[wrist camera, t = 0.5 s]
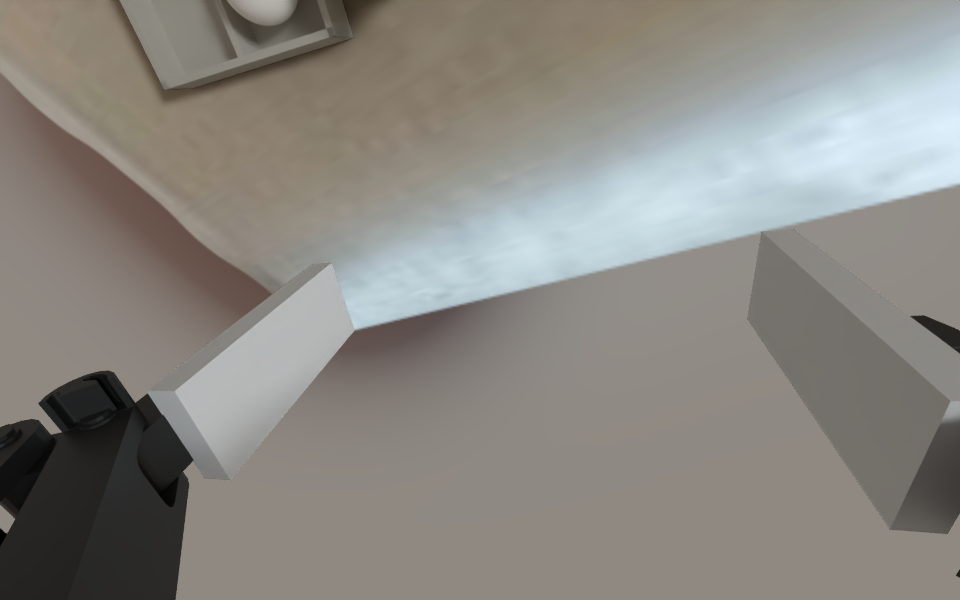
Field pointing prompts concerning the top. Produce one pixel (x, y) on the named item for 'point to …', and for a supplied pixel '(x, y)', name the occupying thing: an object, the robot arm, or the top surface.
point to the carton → (227, 37)
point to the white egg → (265, 10)
